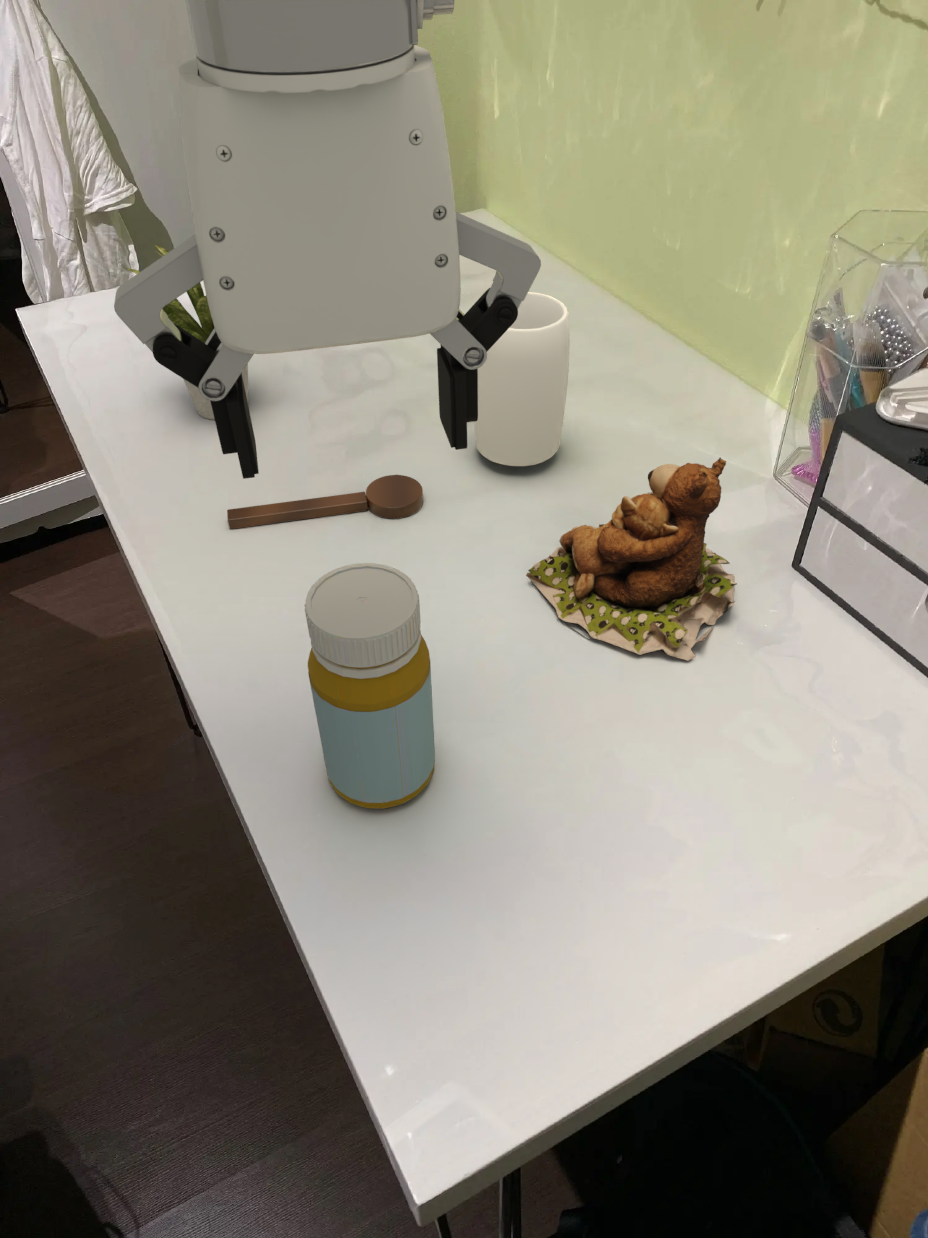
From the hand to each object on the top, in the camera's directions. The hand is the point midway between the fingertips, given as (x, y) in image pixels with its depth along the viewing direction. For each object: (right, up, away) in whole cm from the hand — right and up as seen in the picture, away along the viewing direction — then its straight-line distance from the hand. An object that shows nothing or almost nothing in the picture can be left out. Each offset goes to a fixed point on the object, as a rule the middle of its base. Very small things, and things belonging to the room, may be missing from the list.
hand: (353, 447), depth 43 cm
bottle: (0, -18, +17) cm, 25 cm away
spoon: (-6, +2, +37) cm, 38 cm away
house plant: (-19, +14, +51) cm, 56 cm away
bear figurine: (+19, -6, +29) cm, 35 cm away
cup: (+10, +7, +44) cm, 45 cm away
